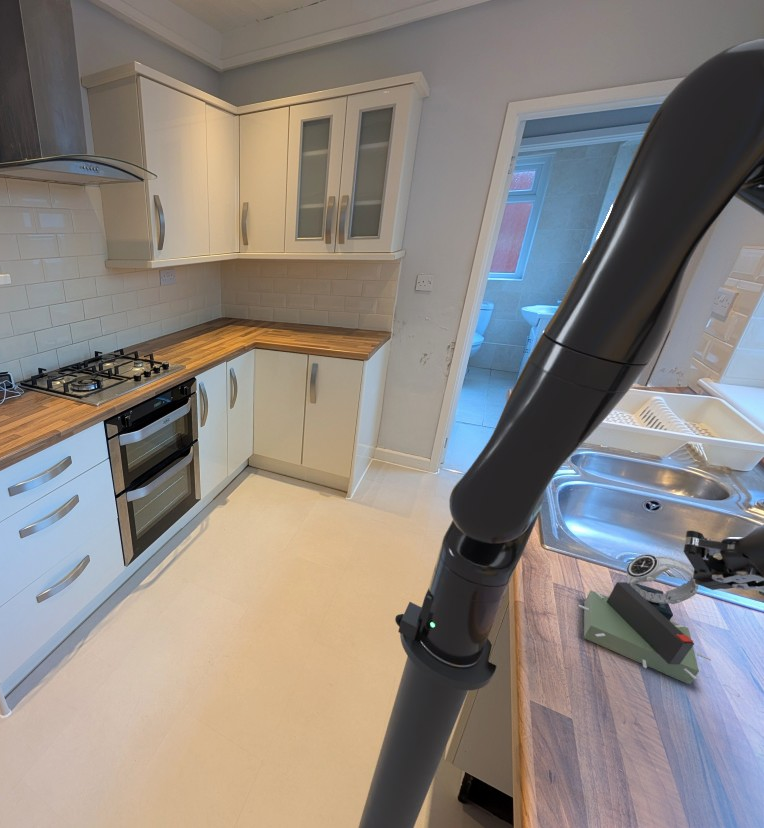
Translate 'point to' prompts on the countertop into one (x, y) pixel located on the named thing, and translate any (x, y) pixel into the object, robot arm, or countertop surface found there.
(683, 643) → the pointer
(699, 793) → the countertop surface
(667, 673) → the dial panel
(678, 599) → the watch
